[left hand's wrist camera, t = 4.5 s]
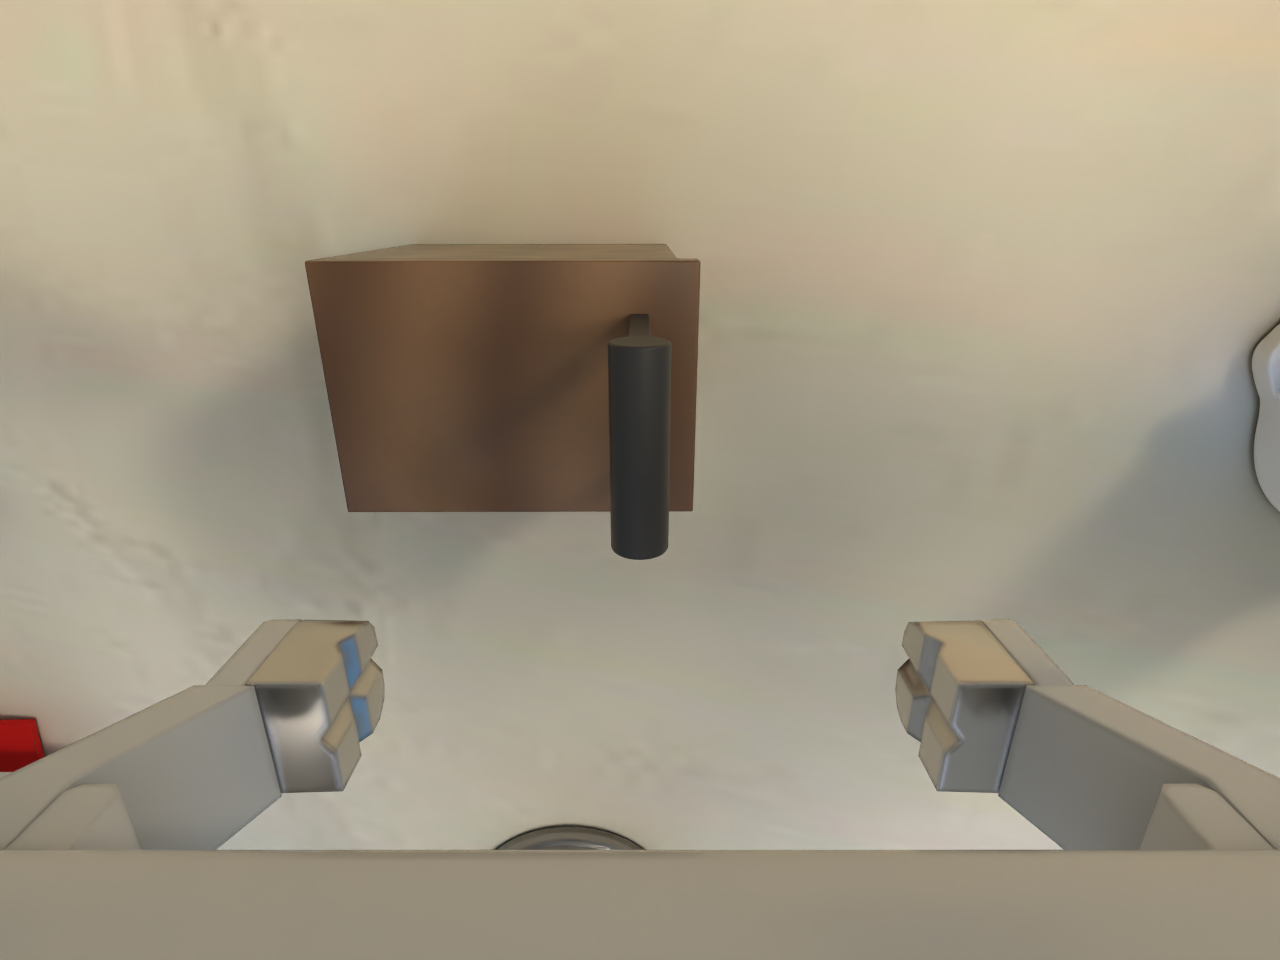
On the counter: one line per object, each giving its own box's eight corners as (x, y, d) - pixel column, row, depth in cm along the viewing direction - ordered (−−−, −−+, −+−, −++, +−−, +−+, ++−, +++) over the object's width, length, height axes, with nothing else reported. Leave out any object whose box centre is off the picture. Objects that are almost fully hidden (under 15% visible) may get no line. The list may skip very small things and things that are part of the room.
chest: (666, 243, 35) (678, 258, 25) (664, 423, 39) (673, 501, 28) (411, 244, 35) (317, 258, 25) (432, 424, 39) (357, 501, 28)
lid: (698, 258, 25) (724, 280, 17) (690, 501, 28) (710, 609, 21) (316, 259, 25) (173, 281, 17) (357, 502, 28) (254, 610, 21)
